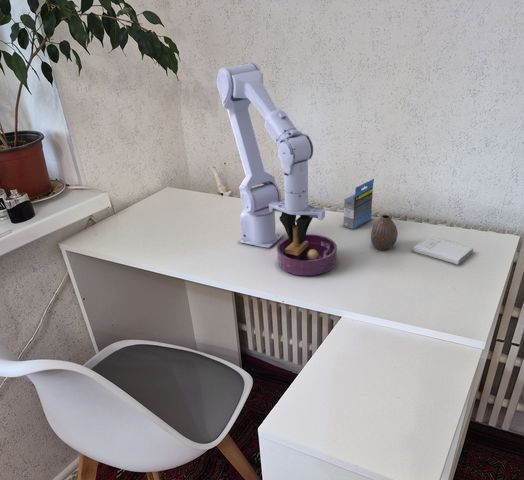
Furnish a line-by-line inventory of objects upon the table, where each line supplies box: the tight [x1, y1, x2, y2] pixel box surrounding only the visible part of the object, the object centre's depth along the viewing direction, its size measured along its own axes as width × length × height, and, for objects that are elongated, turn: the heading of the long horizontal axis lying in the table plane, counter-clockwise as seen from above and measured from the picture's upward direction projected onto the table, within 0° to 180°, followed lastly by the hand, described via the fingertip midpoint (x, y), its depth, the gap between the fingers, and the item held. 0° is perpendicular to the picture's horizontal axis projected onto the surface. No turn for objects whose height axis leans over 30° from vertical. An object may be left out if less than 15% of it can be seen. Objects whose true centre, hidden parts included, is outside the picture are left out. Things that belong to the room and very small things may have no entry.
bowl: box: [276, 233, 338, 277], centre depth 131 cm, size 15×15×4 cm
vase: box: [370, 214, 399, 251], centre depth 134 cm, size 7×7×9 cm
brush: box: [285, 223, 309, 260], centre depth 130 cm, size 4×6×8 cm, turn 150°
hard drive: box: [412, 236, 474, 266], centre depth 132 cm, size 2×8×12 cm
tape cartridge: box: [343, 178, 375, 230], centre depth 146 cm, size 9×4×12 cm, turn 136°
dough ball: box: [307, 249, 318, 260], centre depth 131 cm, size 3×3×3 cm
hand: (297, 241), depth 130 cm, fingers closed on brush, 2 cm apart
